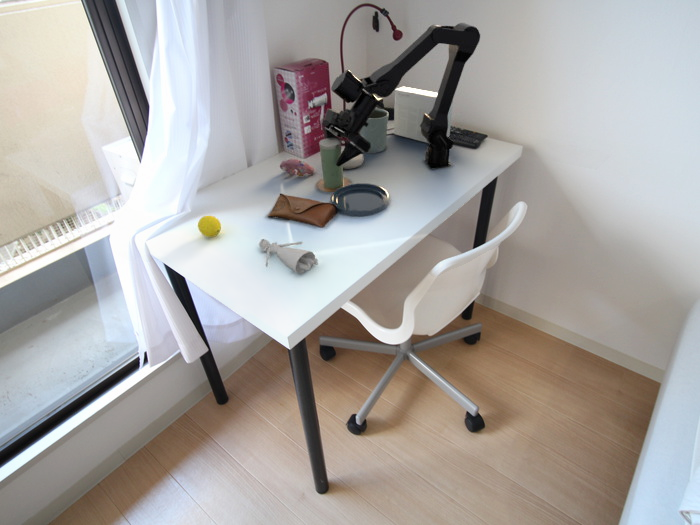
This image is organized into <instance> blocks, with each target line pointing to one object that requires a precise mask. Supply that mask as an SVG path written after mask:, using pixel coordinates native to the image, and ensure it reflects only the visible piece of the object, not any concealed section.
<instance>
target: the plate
mask: <svg viewBox="0 0 700 525" xmlns="http://www.w3.org/2000/svg"><path fill="white" fill-rule="evenodd" d="M329 200H330V203H332V204H335V205H336V206H337V209H338V213H337V214H341V215H342V216H346V217H347V216H348V217H355V218H356V217H368V216H372V215H373V216H374V215H375V214H379V213H380V212H382V211H383V210H385V209H386V208H387V207H388V205H389V201H390V195H389V192H388V190H387V189H385V188H384V187H382V186H380V185H377V184H374V183H368V182H358V183H350V184H349V185H346V186H343V187H341V188H339V189H337V190H335V191H334V192H331V195H330V198H329Z"/></svg>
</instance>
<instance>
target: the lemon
mask: <svg viewBox="0 0 700 525" xmlns="http://www.w3.org/2000/svg"><path fill="white" fill-rule="evenodd" d="M197 227H198V230H199V232H200V233H201V234H202V235H203V236H205V237H207V238H215V237H216V236H218V235H219V234H220V233H221V231H222V223H221V222H220V219H218V218H217V217H216V216H213V215H204V216H202V217H201V218H200V219H199V220H198V222H197Z"/></svg>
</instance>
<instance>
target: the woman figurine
mask: <svg viewBox="0 0 700 525" xmlns="http://www.w3.org/2000/svg"><path fill="white" fill-rule="evenodd" d="M302 244H303V241H297V242H288V243H281V244H280V243H279V244H278V241H277V242H276V241H274V242H272V243H270V241H269V240H267V239H266V238H261V239H260V241H259V243H258V245H259V248H260V249H261V251H263V252H265V253H266V260H265V268H268V264H269V259H270V256H271V255H270V254H277V257H278V258H279V260H280V261H281V262H283V263H284V264H285V265H286V266H287V267H289V268H290V269H291V270H292V271H294V272H295V273H296V274H298V275H300V274H301V275H303V273H305V272H306V271H307V270H308V271H311V268H312V267H313V265H316V266H318V265H319V263H318V259H317V258H316V254H315V253H314V252H313V251H312V250H311V251H310V250H305V249H301V248H295V247H294V248H293V247H291V246H296V245H297V246H298V245H299V246H300V245H302Z"/></svg>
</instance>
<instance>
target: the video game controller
mask: <svg viewBox="0 0 700 525" xmlns="http://www.w3.org/2000/svg"><path fill="white" fill-rule="evenodd" d="M279 168H280V170H282V171H284V172H286V173H287V174H289V175H290V176H295V175H297V176H299V177H304V176H305V175H310V176H311V175H314V173H315V169H314V167H313V166H312V165H310V164H309V163H307V162H305V161H303V160H299V159H296V158H290V159H286V158H284V159H283V161H281V162H280V164H279Z"/></svg>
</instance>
